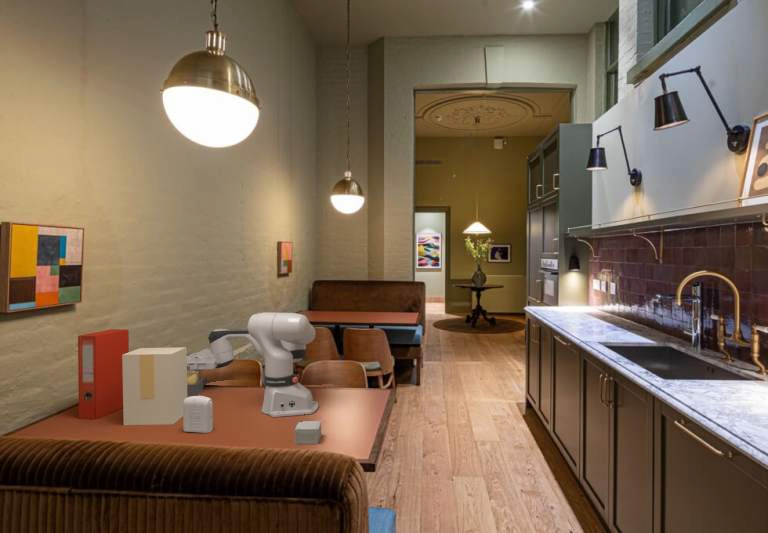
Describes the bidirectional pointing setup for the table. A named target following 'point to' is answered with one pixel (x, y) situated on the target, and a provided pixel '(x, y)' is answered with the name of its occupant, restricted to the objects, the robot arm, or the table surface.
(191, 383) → the gold knob on base
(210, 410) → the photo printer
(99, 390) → the file binder
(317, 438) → the small box
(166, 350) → the carton
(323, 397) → the table surface
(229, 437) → the table surface
